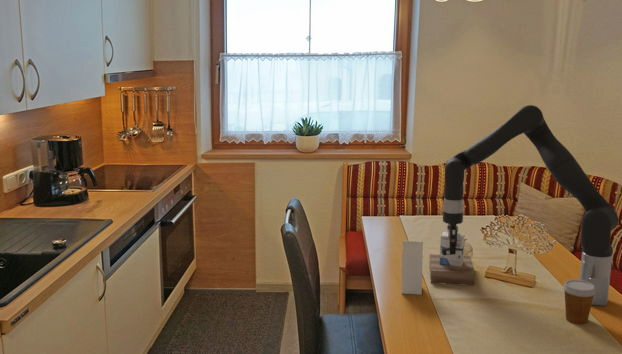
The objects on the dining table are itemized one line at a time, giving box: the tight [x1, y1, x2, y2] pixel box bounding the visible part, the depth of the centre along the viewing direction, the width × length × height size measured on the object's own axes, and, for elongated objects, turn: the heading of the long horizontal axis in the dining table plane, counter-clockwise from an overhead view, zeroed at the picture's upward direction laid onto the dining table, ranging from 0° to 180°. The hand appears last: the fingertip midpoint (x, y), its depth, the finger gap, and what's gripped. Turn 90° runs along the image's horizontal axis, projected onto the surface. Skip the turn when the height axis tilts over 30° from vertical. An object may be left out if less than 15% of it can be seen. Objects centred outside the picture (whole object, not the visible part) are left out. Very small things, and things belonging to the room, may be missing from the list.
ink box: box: [439, 231, 465, 267], centre depth 219 cm, size 8×5×12 cm, turn 66°
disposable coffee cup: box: [562, 279, 596, 325], centre depth 182 cm, size 10×10×12 cm
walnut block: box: [429, 254, 476, 286], centre depth 221 cm, size 18×16×5 cm
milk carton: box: [401, 240, 424, 296], centre depth 206 cm, size 7×7×19 cm
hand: (451, 250), depth 220 cm, fingers open, 8 cm apart
